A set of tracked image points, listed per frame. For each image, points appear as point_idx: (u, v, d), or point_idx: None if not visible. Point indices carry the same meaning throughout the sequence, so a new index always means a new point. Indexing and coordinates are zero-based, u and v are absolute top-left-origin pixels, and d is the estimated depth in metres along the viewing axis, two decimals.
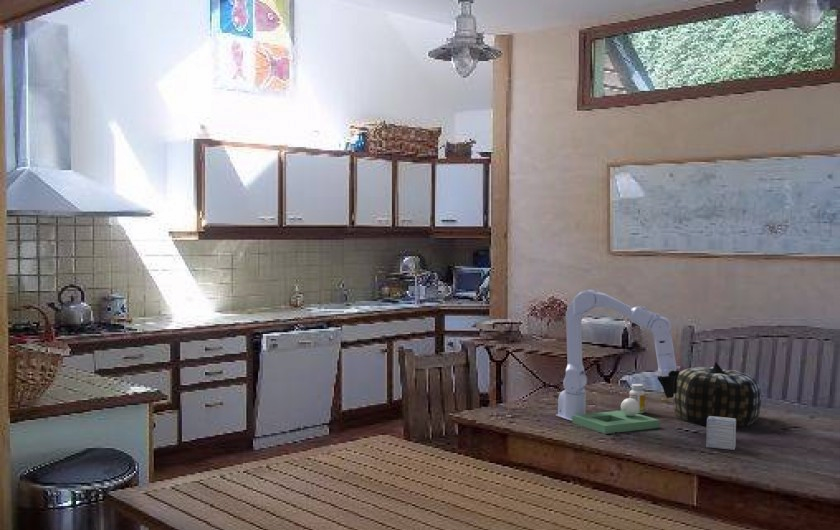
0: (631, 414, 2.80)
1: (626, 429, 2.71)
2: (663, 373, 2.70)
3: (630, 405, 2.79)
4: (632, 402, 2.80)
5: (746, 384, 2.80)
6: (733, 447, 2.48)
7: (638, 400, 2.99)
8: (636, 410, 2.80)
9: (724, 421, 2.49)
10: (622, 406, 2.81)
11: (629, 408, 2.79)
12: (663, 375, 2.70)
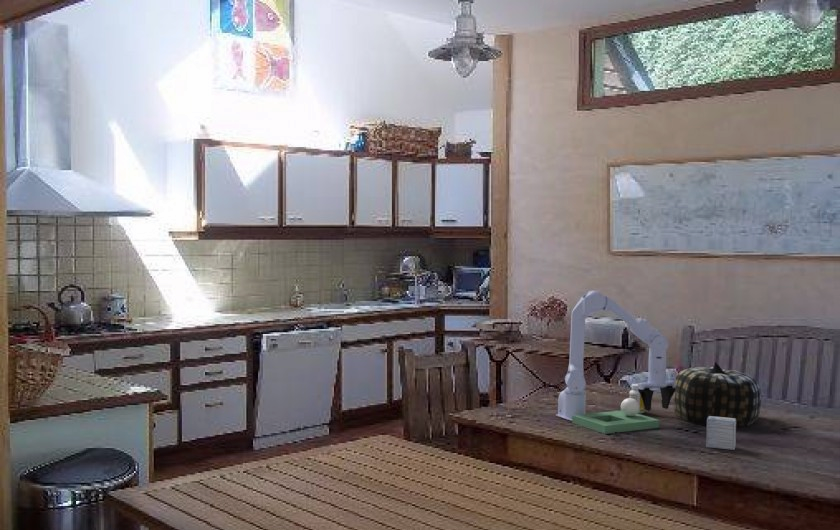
0: (631, 414, 2.80)
1: (626, 429, 2.71)
2: (639, 386, 2.84)
3: (630, 405, 2.79)
4: (632, 402, 2.80)
5: (746, 384, 2.80)
6: (733, 447, 2.48)
7: (638, 400, 2.99)
8: (636, 410, 2.80)
9: (724, 421, 2.49)
10: (622, 406, 2.81)
11: (629, 408, 2.79)
12: (639, 387, 2.84)
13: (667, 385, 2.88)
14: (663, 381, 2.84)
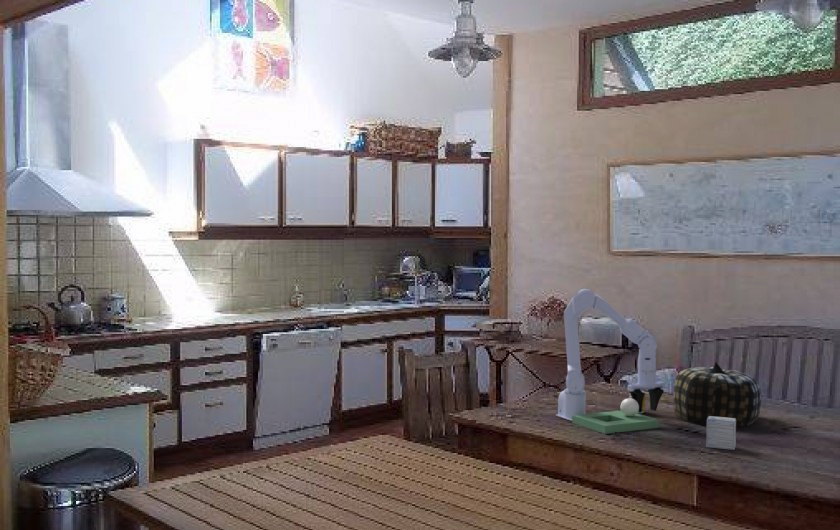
0: (631, 414, 2.80)
1: (626, 429, 2.71)
2: (628, 387, 2.82)
3: (630, 406, 2.79)
4: (631, 402, 2.80)
5: (746, 384, 2.80)
6: (733, 447, 2.48)
7: None
8: (636, 410, 2.79)
9: (724, 421, 2.49)
10: (622, 407, 2.81)
11: (629, 409, 2.79)
12: (628, 389, 2.82)
13: (657, 387, 2.87)
14: (653, 383, 2.82)
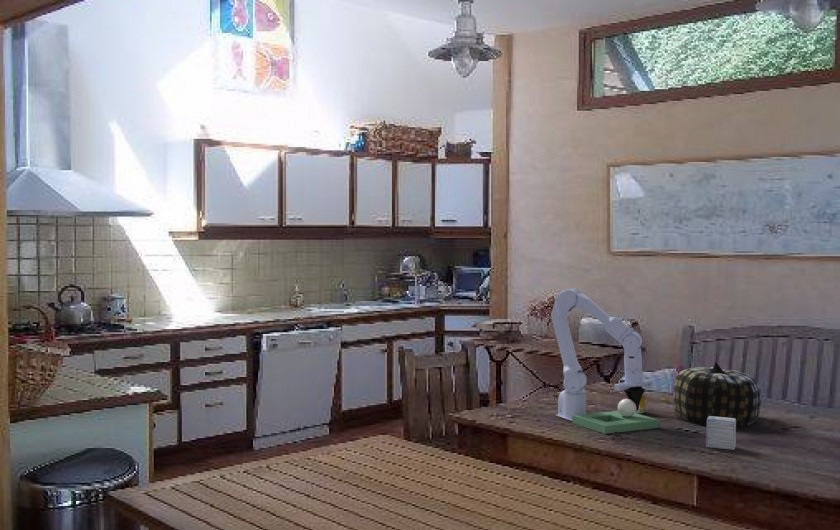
0: (630, 416, 2.80)
1: (626, 429, 2.71)
2: (615, 387, 2.79)
3: (626, 410, 2.78)
4: (627, 406, 2.78)
5: (746, 384, 2.80)
6: (733, 447, 2.48)
7: None
8: (634, 411, 2.79)
9: (724, 421, 2.49)
10: (619, 411, 2.80)
11: (627, 413, 2.78)
12: (615, 389, 2.79)
13: (644, 385, 2.83)
14: (640, 381, 2.79)
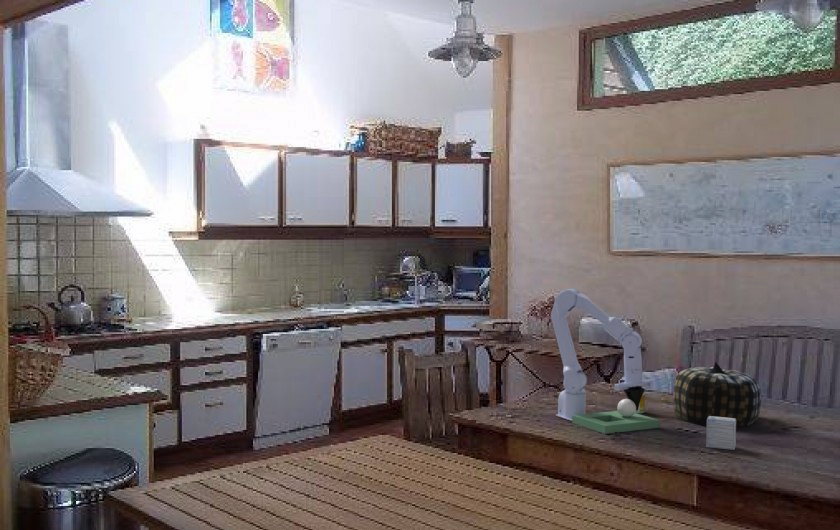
0: (630, 416, 2.80)
1: (626, 429, 2.71)
2: (615, 387, 2.79)
3: (626, 410, 2.78)
4: (627, 406, 2.78)
5: (746, 384, 2.80)
6: (733, 447, 2.48)
7: None
8: (633, 411, 2.79)
9: (724, 421, 2.49)
10: (619, 411, 2.80)
11: (626, 413, 2.78)
12: (615, 389, 2.79)
13: (644, 385, 2.83)
14: (640, 381, 2.79)
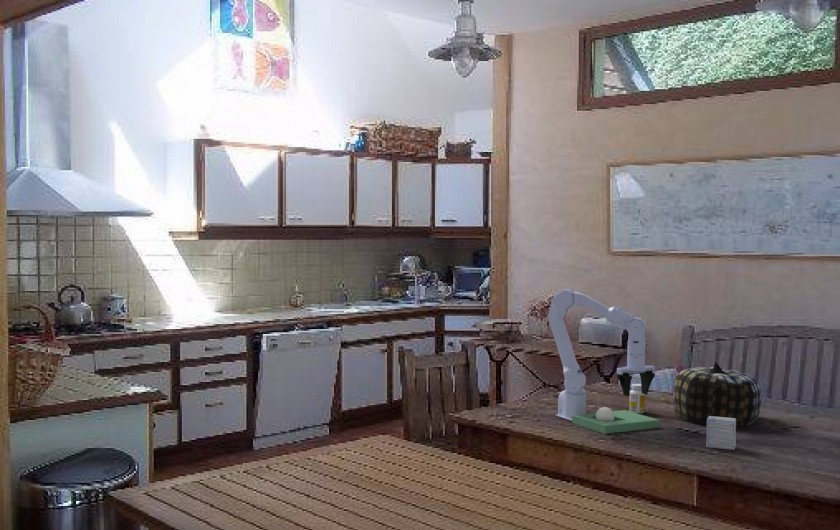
0: (607, 410, 2.76)
1: (626, 429, 2.71)
2: (617, 371, 2.80)
3: (613, 416, 2.76)
4: None
5: (746, 384, 2.80)
6: (733, 447, 2.48)
7: (638, 400, 2.99)
8: (608, 417, 2.75)
9: (724, 421, 2.49)
10: None
11: (613, 414, 2.76)
12: (617, 372, 2.80)
13: (647, 370, 2.84)
14: (642, 366, 2.80)
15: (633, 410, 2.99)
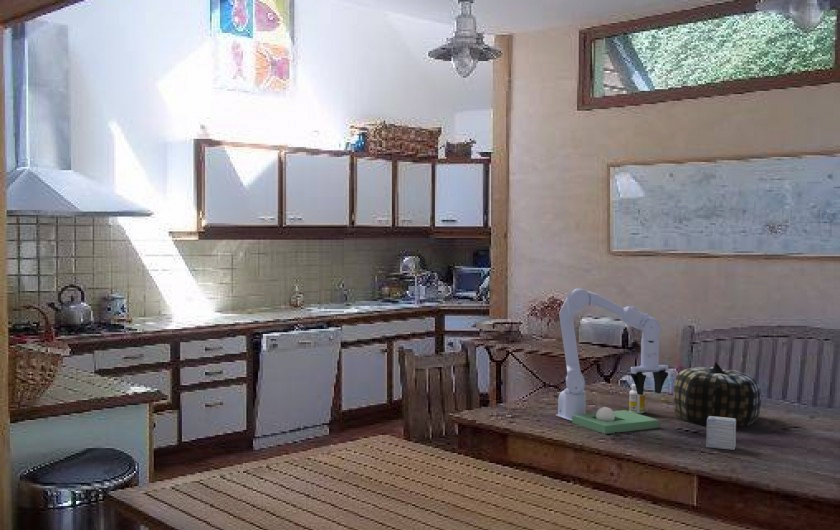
0: (607, 410, 2.76)
1: (626, 429, 2.71)
2: (631, 370, 2.82)
3: (614, 416, 2.76)
4: None
5: (746, 384, 2.80)
6: (733, 447, 2.48)
7: (638, 400, 2.99)
8: (608, 417, 2.75)
9: (724, 421, 2.49)
10: None
11: (613, 414, 2.76)
12: (631, 372, 2.82)
13: (660, 369, 2.87)
14: (656, 365, 2.83)
15: (633, 410, 2.99)
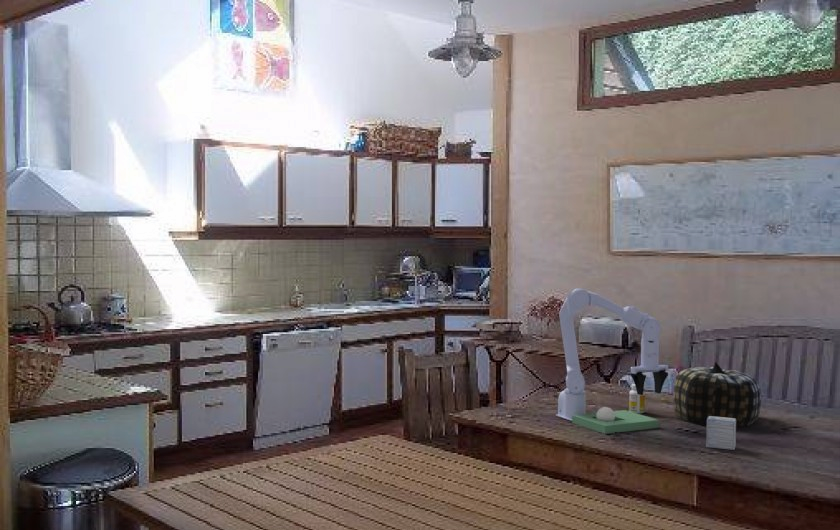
0: (608, 410, 2.76)
1: (626, 429, 2.71)
2: (631, 370, 2.82)
3: (614, 417, 2.76)
4: None
5: (746, 384, 2.80)
6: (733, 447, 2.48)
7: (638, 400, 2.99)
8: (608, 416, 2.75)
9: (724, 421, 2.49)
10: None
11: (613, 414, 2.76)
12: (631, 372, 2.82)
13: (660, 369, 2.87)
14: (656, 365, 2.83)
15: (633, 410, 2.99)
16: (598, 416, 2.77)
